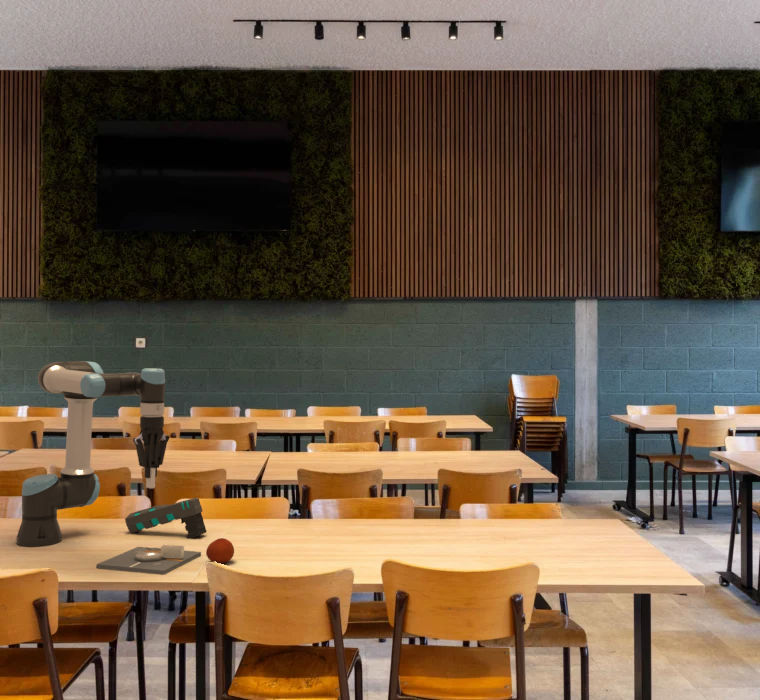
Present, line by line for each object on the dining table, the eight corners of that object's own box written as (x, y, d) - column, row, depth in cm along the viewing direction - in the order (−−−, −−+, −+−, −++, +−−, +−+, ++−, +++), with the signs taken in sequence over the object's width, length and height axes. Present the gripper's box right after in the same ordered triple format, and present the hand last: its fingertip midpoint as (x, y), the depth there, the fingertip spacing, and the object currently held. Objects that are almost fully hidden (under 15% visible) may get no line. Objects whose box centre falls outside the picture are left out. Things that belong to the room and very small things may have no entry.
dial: (129, 561, 262) (129, 548, 262) (141, 553, 272) (141, 541, 272) (177, 563, 261) (177, 550, 261) (188, 555, 271) (188, 543, 271)
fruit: (224, 557, 273) (224, 533, 273) (238, 563, 266) (238, 538, 266) (201, 561, 267) (201, 537, 267) (214, 567, 261) (214, 542, 260)
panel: (96, 568, 258) (96, 563, 258) (138, 550, 282) (138, 546, 282) (163, 574, 252) (163, 570, 252) (200, 555, 275) (200, 551, 275)
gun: (201, 535, 298) (190, 495, 299) (132, 555, 304) (122, 516, 306) (209, 531, 304) (198, 492, 305) (142, 550, 311) (131, 512, 312)
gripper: (142, 418, 259) (140, 492, 259) (175, 415, 269) (173, 486, 269) (128, 415, 263) (126, 488, 264) (161, 413, 274) (159, 483, 274)
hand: (150, 487), depth 267 cm, fingers closed
